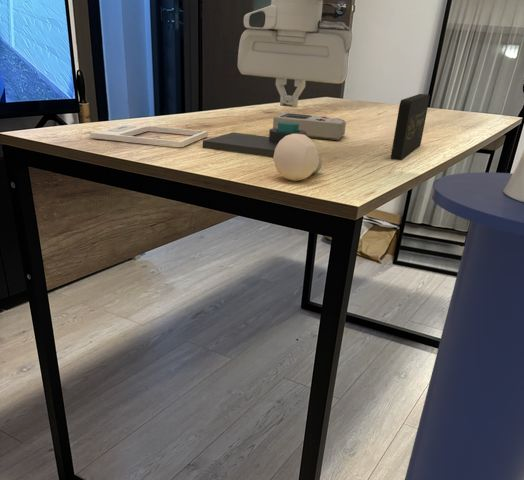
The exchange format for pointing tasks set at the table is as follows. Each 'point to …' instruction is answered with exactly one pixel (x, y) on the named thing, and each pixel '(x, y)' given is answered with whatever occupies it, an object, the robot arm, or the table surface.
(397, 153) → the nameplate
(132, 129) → the photo frame
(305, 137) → the light bulb
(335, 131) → the handheld gaming device
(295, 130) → the button
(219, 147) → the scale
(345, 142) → the table surface
